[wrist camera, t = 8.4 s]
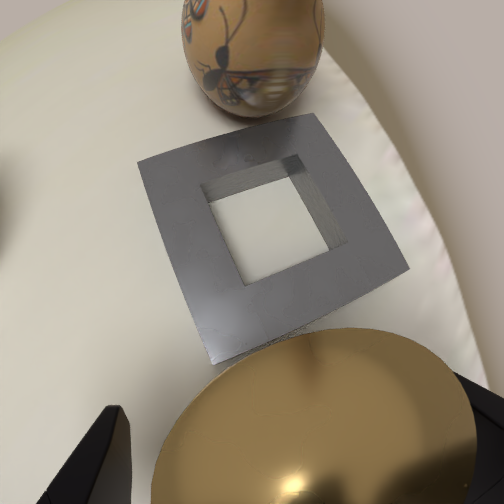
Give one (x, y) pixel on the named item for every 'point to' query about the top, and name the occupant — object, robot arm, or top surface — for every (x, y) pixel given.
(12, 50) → the top surface
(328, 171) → the grey square flat frame
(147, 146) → the top surface
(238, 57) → the ceramic vessel
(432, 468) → the brass goblet
